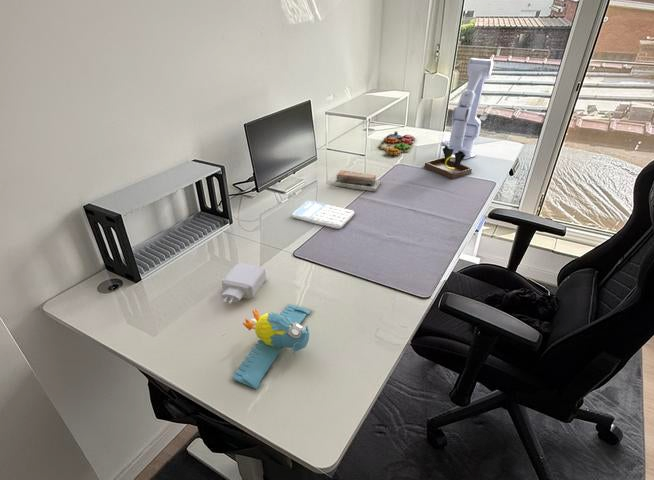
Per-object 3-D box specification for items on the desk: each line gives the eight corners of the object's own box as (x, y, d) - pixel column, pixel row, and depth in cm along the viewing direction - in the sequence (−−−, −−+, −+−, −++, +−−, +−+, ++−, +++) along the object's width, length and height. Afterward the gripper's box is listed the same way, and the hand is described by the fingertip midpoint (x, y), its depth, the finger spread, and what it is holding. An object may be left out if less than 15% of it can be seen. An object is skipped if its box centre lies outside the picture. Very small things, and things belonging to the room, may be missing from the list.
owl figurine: (276, 276, 109) (329, 291, 105) (277, 301, 114) (328, 317, 110) (213, 347, 88) (276, 370, 84) (218, 374, 94) (278, 398, 89)
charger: (212, 306, 113) (237, 275, 125) (243, 313, 111) (266, 281, 123) (209, 292, 110) (236, 262, 122) (241, 299, 108) (265, 267, 120)
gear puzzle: (405, 158, 204) (406, 150, 202) (373, 154, 209) (373, 146, 207) (415, 139, 228) (417, 132, 226) (386, 136, 233) (387, 129, 230)
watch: (444, 169, 190) (446, 156, 187) (444, 167, 192) (446, 154, 189) (457, 170, 189) (460, 157, 186) (457, 168, 191) (460, 155, 188)
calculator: (339, 230, 147) (340, 225, 146) (291, 217, 155) (290, 213, 154) (355, 214, 157) (355, 210, 156) (308, 203, 164) (308, 199, 163)
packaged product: (334, 175, 175) (341, 167, 183) (333, 186, 178) (340, 177, 185) (376, 181, 170) (381, 172, 178) (375, 192, 173) (380, 183, 180)
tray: (424, 166, 196) (425, 162, 195) (442, 161, 201) (443, 157, 200) (452, 179, 184) (453, 174, 183) (471, 173, 190) (472, 168, 188)
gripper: (438, 132, 185) (433, 162, 193) (464, 141, 175) (457, 172, 183) (449, 130, 188) (444, 159, 196) (475, 138, 178) (468, 169, 186)
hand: (451, 165), depth 190 cm, fingers closed on watch, 5 cm apart
